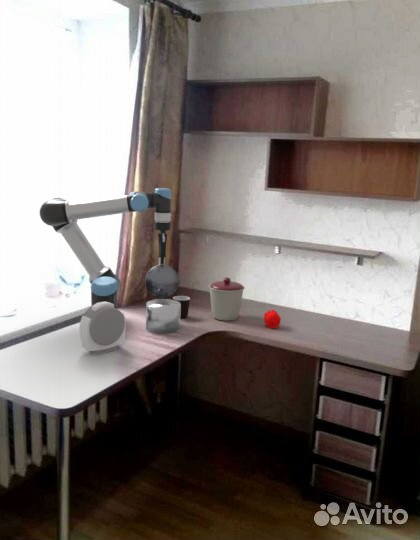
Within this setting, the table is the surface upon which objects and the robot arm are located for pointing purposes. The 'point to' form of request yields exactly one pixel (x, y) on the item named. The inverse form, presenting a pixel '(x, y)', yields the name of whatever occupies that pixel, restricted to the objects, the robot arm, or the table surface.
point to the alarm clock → (102, 328)
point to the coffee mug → (183, 305)
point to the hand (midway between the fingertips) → (161, 270)
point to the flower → (272, 319)
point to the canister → (226, 299)
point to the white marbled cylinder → (163, 316)
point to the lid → (161, 281)
